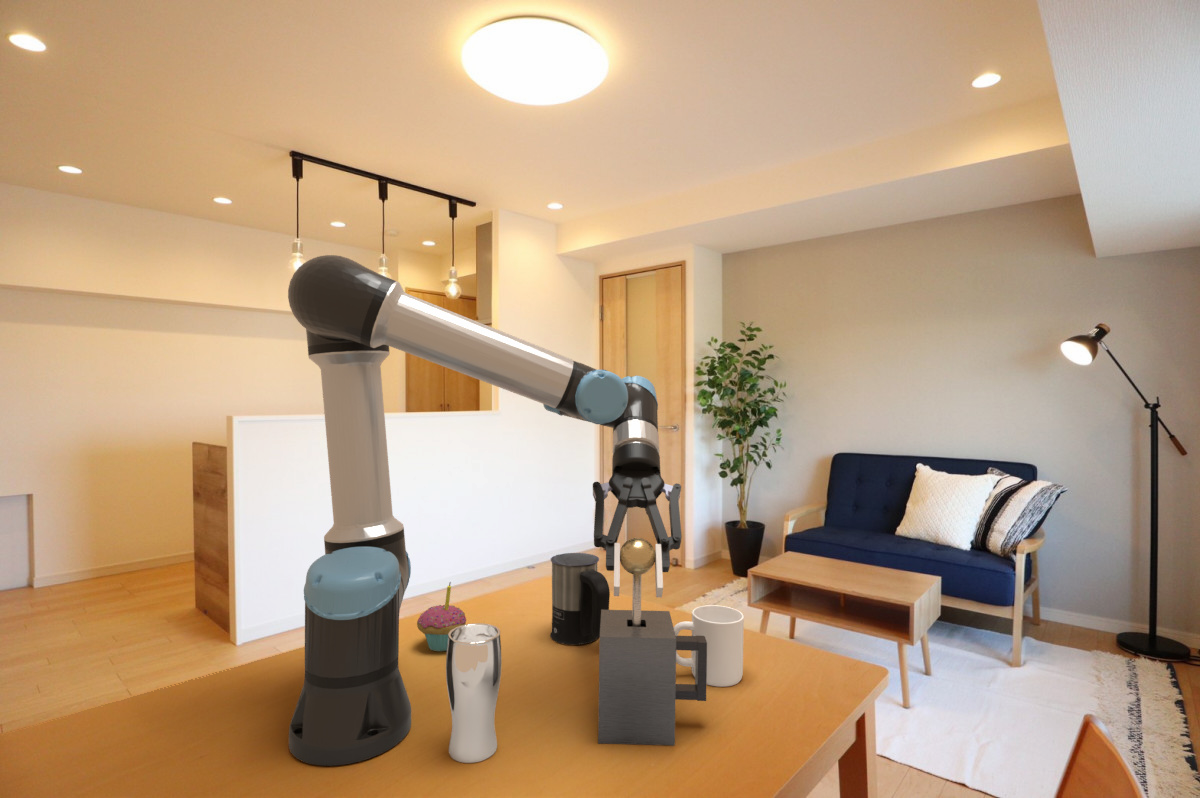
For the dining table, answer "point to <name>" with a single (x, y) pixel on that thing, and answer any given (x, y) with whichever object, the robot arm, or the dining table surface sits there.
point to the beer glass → (473, 690)
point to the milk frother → (577, 598)
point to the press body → (643, 677)
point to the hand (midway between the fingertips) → (638, 591)
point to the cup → (717, 643)
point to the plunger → (637, 569)
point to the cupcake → (440, 623)
